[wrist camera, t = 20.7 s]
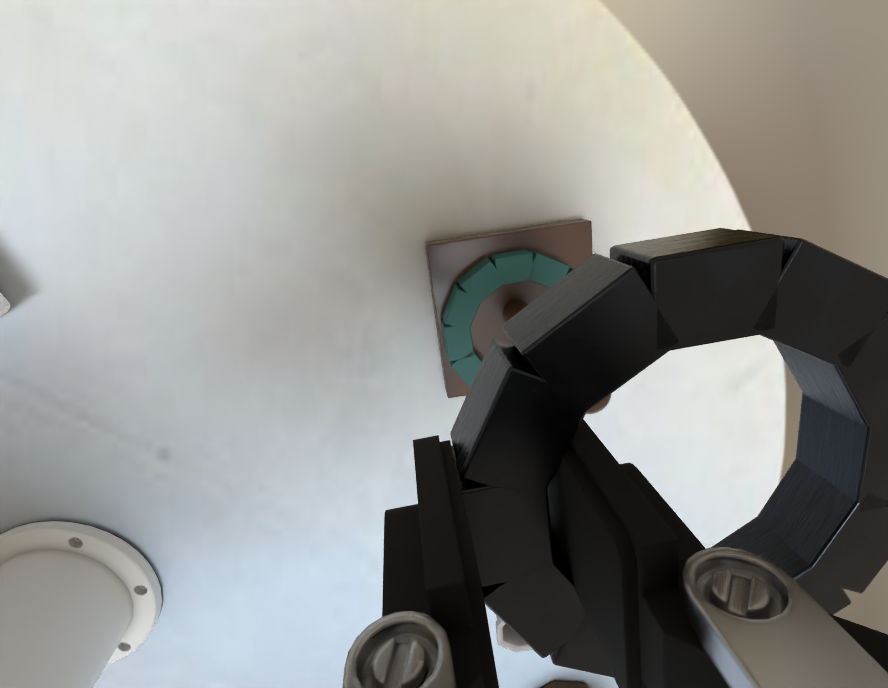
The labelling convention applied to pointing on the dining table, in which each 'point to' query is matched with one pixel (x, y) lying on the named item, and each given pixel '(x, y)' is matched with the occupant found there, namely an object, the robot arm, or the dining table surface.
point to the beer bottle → (565, 685)
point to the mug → (3, 305)
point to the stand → (465, 252)
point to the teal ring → (478, 288)
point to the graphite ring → (632, 350)
